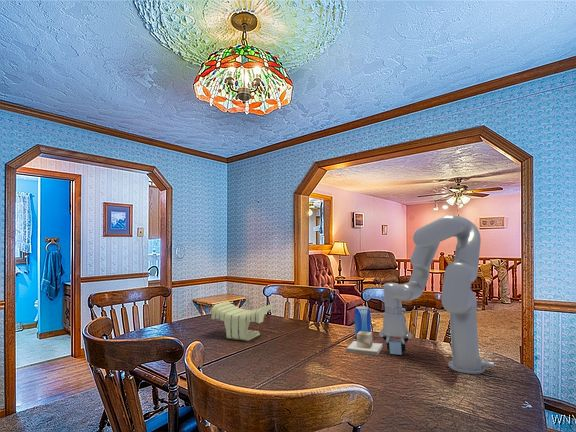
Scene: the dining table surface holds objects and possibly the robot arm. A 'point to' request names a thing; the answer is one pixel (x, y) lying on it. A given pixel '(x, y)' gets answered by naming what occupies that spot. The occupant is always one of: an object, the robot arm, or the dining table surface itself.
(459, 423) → the dining table surface
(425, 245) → the robot arm
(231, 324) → the slatted curved stool
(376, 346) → the base board
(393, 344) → the blue cube
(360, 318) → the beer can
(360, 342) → the maple cube
